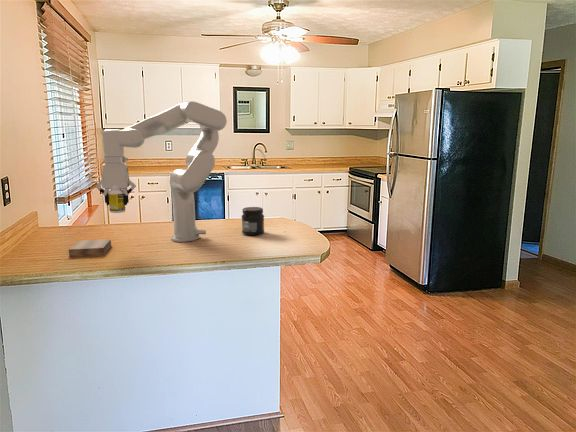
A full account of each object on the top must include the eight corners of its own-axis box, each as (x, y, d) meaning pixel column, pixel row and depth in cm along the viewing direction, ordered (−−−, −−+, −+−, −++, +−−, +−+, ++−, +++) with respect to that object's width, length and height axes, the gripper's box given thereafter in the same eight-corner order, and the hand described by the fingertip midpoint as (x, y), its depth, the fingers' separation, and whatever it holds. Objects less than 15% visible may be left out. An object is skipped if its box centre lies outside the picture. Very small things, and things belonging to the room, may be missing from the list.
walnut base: (111, 246, 193) (110, 239, 192) (103, 255, 180) (103, 247, 180) (79, 247, 191) (78, 240, 190) (69, 256, 179) (68, 249, 178)
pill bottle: (120, 213, 182) (118, 186, 180) (106, 212, 183) (104, 185, 181) (128, 210, 188) (127, 184, 186) (114, 210, 189) (113, 183, 187)
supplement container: (264, 230, 218) (264, 206, 216) (264, 236, 208) (263, 210, 205) (242, 231, 218) (242, 206, 215) (241, 236, 208) (240, 211, 205)
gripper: (138, 159, 186) (140, 202, 190) (93, 159, 183) (97, 203, 187) (135, 161, 179) (137, 206, 182) (89, 161, 176) (92, 206, 180)
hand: (117, 204), depth 185 cm, fingers closed on pill bottle, 6 cm apart
